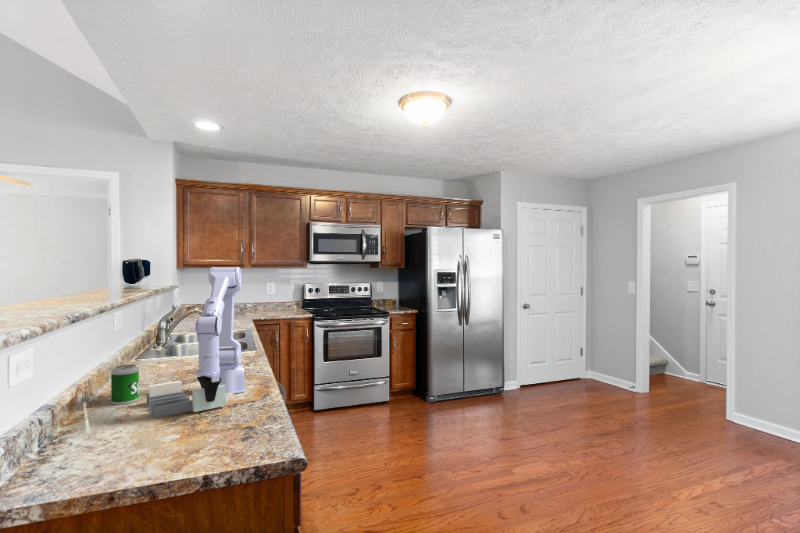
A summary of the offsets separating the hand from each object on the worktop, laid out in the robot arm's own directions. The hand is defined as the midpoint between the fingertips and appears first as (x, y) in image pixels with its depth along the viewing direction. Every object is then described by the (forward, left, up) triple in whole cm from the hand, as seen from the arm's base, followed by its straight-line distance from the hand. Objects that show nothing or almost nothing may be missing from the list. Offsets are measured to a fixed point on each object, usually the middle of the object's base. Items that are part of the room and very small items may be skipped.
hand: (209, 400), depth 128 cm
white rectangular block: (+9, -17, -3) cm, 19 cm away
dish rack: (+9, -11, -4) cm, 15 cm away
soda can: (+19, -26, -4) cm, 32 cm away
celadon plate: (0, 0, -2) cm, 2 cm away
